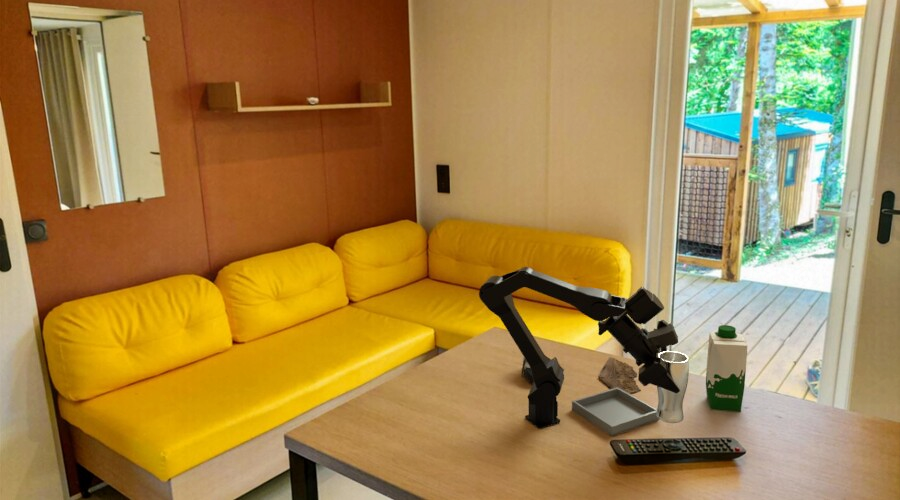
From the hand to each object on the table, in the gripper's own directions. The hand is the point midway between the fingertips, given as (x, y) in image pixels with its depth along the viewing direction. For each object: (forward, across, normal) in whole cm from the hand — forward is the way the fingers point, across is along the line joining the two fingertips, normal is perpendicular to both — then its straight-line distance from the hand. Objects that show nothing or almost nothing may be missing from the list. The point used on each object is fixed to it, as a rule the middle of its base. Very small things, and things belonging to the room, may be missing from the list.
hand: (677, 385), depth 144 cm
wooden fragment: (-1, +31, +20) cm, 37 cm away
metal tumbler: (+5, 0, +7) cm, 8 cm away
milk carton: (+18, +19, +1) cm, 26 cm away
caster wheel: (-16, +24, +35) cm, 46 cm away
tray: (-1, +7, +19) cm, 20 cm away
